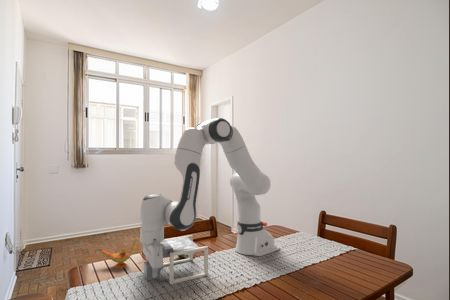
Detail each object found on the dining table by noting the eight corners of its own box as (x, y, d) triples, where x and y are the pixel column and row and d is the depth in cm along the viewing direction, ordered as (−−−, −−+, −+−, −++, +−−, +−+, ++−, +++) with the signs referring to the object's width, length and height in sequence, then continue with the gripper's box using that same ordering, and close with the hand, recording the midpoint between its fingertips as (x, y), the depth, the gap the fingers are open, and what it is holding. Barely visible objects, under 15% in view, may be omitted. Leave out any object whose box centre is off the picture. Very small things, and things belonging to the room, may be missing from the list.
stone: (156, 272, 102) (156, 259, 102) (159, 277, 97) (159, 264, 97) (144, 275, 99) (144, 262, 100) (146, 280, 95) (146, 267, 95)
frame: (191, 259, 115) (191, 234, 115) (208, 275, 99) (208, 246, 99) (158, 266, 107) (158, 240, 108) (170, 284, 92) (170, 253, 92)
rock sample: (189, 254, 111) (182, 237, 116) (176, 265, 111) (169, 247, 117) (201, 257, 119) (194, 241, 124) (189, 267, 119) (182, 251, 125)
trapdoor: (186, 241, 112) (186, 234, 112) (199, 251, 99) (199, 244, 99) (153, 246, 105) (153, 239, 105) (162, 259, 92) (162, 250, 92)
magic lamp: (100, 262, 112) (100, 237, 112) (140, 262, 111) (140, 237, 112) (91, 268, 105) (92, 242, 105) (134, 269, 104) (134, 242, 105)
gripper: (167, 242, 91) (167, 281, 91) (154, 228, 109) (154, 261, 109) (149, 245, 88) (149, 285, 88) (139, 230, 106) (139, 264, 106)
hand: (151, 271), depth 98 cm, fingers open, 8 cm apart
